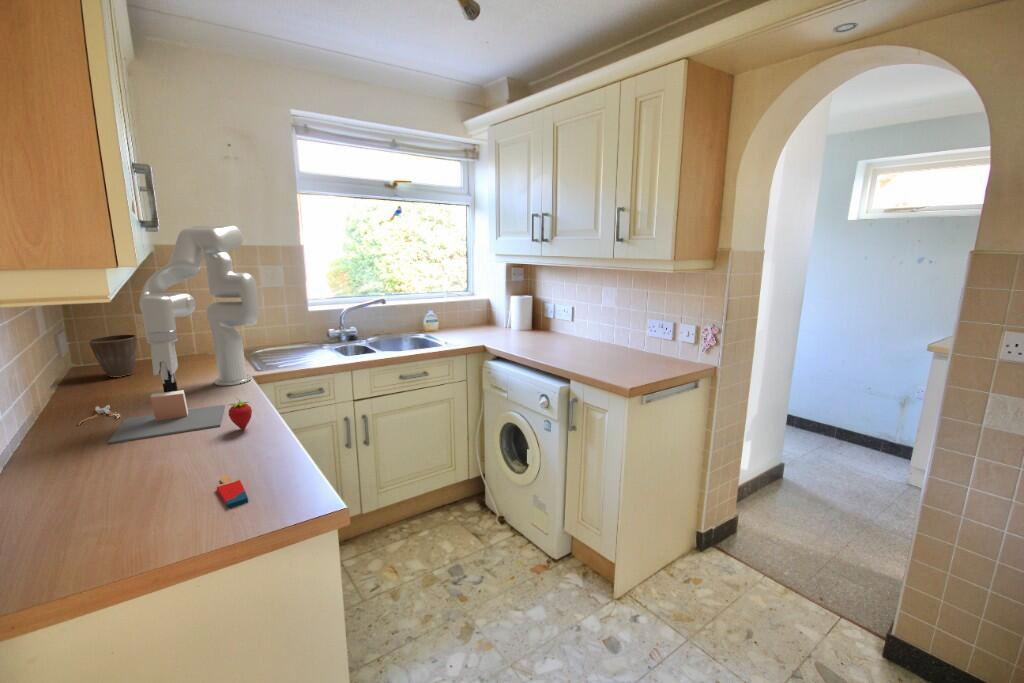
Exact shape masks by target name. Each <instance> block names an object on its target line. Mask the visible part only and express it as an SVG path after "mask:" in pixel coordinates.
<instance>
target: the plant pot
mask: <svg viewBox="0 0 1024 683" xmlns="http://www.w3.org/2000/svg"><path fill="white" fill-rule="evenodd" d="M137 338H138V336H137V335H135V334H117V335H108V336H102V337H96V338H92V339H90V340H88V343H89V345H90V349H91V350H92V352H93V354H94V356H95V358H96V360H97V362H98V364H99V365H100V367H101V369H102V370H103V372H104V373H105V374H106V375H107V376H112V377H113V376H122V375H127V374H130V373H132V372H134V369H135V365H136V364H135V363H136V357H137V350H138V349H137V346H138V343H137V341H138V339H137ZM132 374H133V373H132Z"/></svg>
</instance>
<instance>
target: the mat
mask: <svg viewBox="0 0 1024 683" xmlns="http://www.w3.org/2000/svg"><path fill="white" fill-rule="evenodd" d="M225 408H226V405H225V404H219V405H212V406H204V407H199V408H188V416H186V417H179V418H172V419H165V420H158V421H156V420H155V416H154V413H152V414H148V415H147V414H145V415H140V416H132V417H127V418H125V420H124V421H123V422H122V423H121V424H120V426H119V427H118V429H117V430H115V432H114V434H113V435H112V436H111V437H110V438H109V440H108V441H107V444H108V445H110V444H109V443H112V444H116V442H118V443H122V442H124V441H125V442H129V441H130V442H131V441H136V440H142V439H148V438H149V439H150V438H155V437H161V436H168V435H169V436H170V435H173V434H175V435H176V434H180V433H181V434H182V433H187V432H188V433H189V432H191V431H193V432H194V431H200V430H207V429H212V428H219V427H221V425H222V420H223V416H224V412H225Z"/></svg>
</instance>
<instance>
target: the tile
mask: <svg viewBox="0 0 1024 683" xmlns="http://www.w3.org/2000/svg"><path fill="white" fill-rule="evenodd" d="M150 402H151V408H152V410H153V414H154V416H155V420H156V421H158V420H165V419H172V418H179V417H186V416H188V410H189V408H188V405H187V399H186V394H185V390H184V389H181V390H178V391H173V392H165V393H164V392H158V393H152V394H151V395H150Z"/></svg>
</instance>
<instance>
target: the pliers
mask: <svg viewBox="0 0 1024 683" xmlns="http://www.w3.org/2000/svg"><path fill="white" fill-rule="evenodd" d="M109 408H110V409H111V406H110V404H107V405H105V406H104V407H100V406H95V413H96V412H97V413H98V412H105V413H108V412H111V410H109ZM105 413H104V414H105ZM117 413H118V412H117ZM113 415H115V416H116V415H119V416H117V418H116V420H117V419H118V418H119V417H120V418H121V414H120V413H118V414H113ZM115 416H114V417H115ZM118 420H119V419H118Z"/></svg>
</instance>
